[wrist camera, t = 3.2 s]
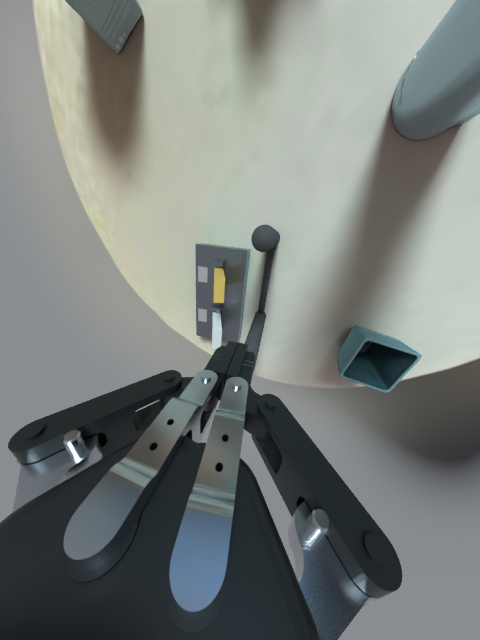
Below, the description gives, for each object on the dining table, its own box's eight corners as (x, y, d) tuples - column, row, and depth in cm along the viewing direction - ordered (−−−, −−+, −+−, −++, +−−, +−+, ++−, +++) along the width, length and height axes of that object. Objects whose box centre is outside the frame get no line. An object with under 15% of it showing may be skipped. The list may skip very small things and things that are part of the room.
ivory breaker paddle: (220, 311, 38) (222, 330, 31) (219, 328, 40) (220, 349, 32) (212, 311, 38) (212, 330, 30) (212, 327, 39) (211, 349, 32)
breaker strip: (250, 249, 35) (245, 251, 31) (240, 337, 44) (235, 348, 39) (202, 243, 36) (190, 244, 32) (201, 329, 45) (192, 339, 41)
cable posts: (281, 231, 33) (278, 225, 17) (264, 321, 41) (253, 376, 25) (267, 229, 33) (253, 223, 17) (254, 319, 41) (236, 372, 25)
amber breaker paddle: (222, 267, 34) (225, 278, 27) (221, 288, 36) (223, 303, 29) (214, 267, 34) (214, 277, 26) (213, 287, 35) (213, 302, 28)
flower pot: (327, 349, 40) (338, 377, 32) (348, 315, 36) (366, 337, 28) (367, 362, 39) (388, 394, 31) (392, 328, 35) (424, 355, 27)
